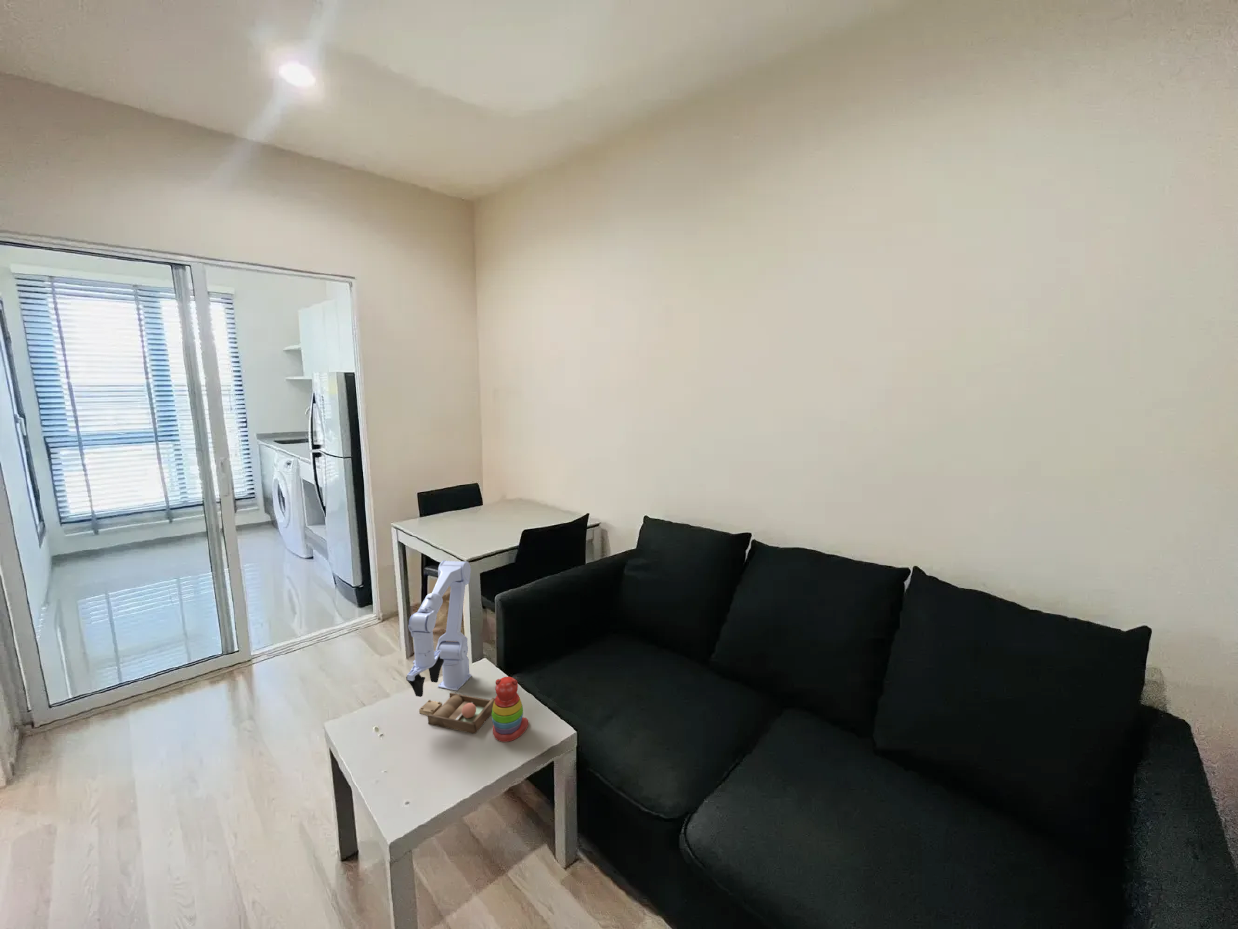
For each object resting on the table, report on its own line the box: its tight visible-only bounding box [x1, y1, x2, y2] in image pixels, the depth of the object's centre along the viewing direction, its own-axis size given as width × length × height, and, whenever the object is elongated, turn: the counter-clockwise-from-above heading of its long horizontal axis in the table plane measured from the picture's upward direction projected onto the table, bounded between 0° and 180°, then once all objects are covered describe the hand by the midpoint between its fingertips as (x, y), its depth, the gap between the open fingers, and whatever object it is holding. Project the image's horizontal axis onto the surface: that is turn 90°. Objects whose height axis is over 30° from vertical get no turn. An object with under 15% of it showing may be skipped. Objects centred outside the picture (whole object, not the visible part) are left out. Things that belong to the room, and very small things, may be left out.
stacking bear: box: [491, 676, 530, 743], centre depth 151 cm, size 11×10×18 cm
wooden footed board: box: [419, 699, 443, 716], centre depth 162 cm, size 5×5×2 cm
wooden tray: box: [427, 692, 496, 735], centre depth 159 cm, size 12×17×7 cm
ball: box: [462, 703, 476, 718], centre depth 158 cm, size 4×4×4 cm
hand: (427, 688), depth 157 cm, fingers open, 7 cm apart
